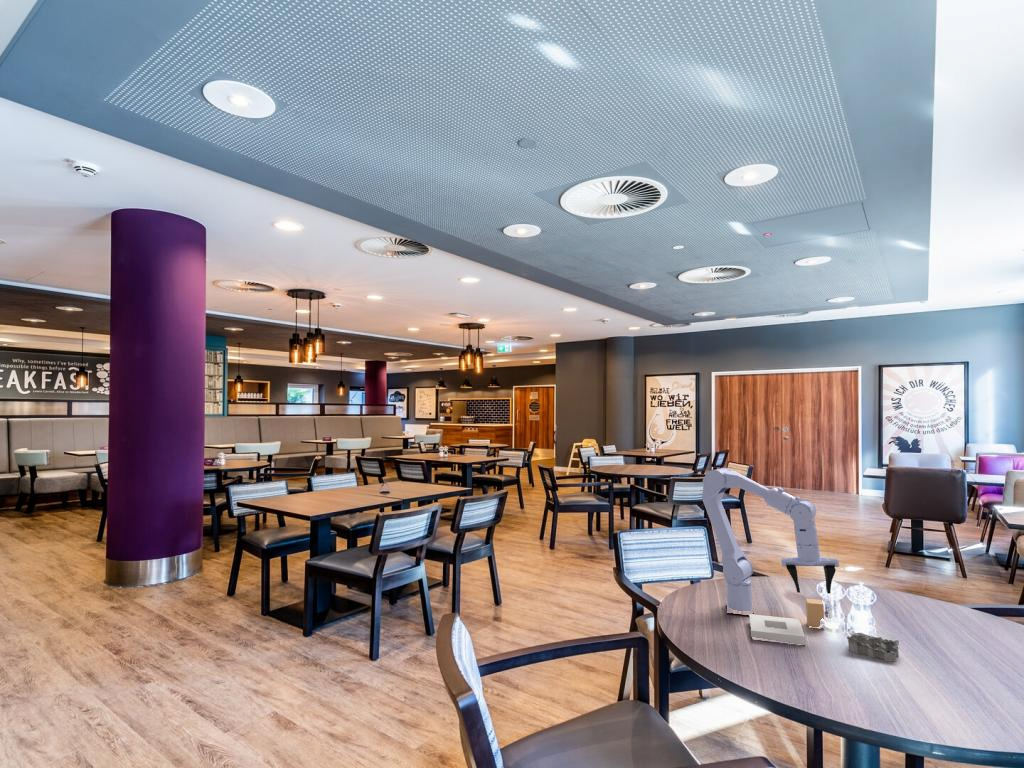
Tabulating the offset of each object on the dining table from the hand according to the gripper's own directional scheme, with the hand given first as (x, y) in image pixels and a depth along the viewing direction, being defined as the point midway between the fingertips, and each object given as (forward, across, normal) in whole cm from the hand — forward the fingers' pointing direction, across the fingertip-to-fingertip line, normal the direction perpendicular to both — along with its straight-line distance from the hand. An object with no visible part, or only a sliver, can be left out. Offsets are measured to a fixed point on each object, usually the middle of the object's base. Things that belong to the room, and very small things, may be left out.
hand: (813, 592), depth 157 cm
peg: (+10, 0, +1) cm, 10 cm away
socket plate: (+9, -11, -8) cm, 17 cm away
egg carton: (+12, +11, -13) cm, 21 cm away
